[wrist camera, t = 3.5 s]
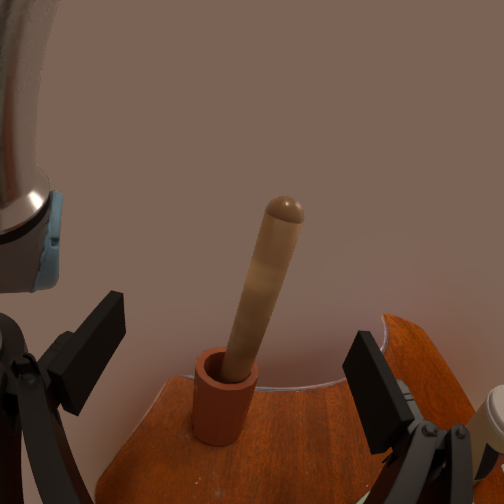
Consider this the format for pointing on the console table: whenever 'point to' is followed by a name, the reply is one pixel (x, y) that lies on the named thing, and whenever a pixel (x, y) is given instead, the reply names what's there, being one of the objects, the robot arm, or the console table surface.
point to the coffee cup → (487, 435)
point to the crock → (219, 400)
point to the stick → (262, 286)
